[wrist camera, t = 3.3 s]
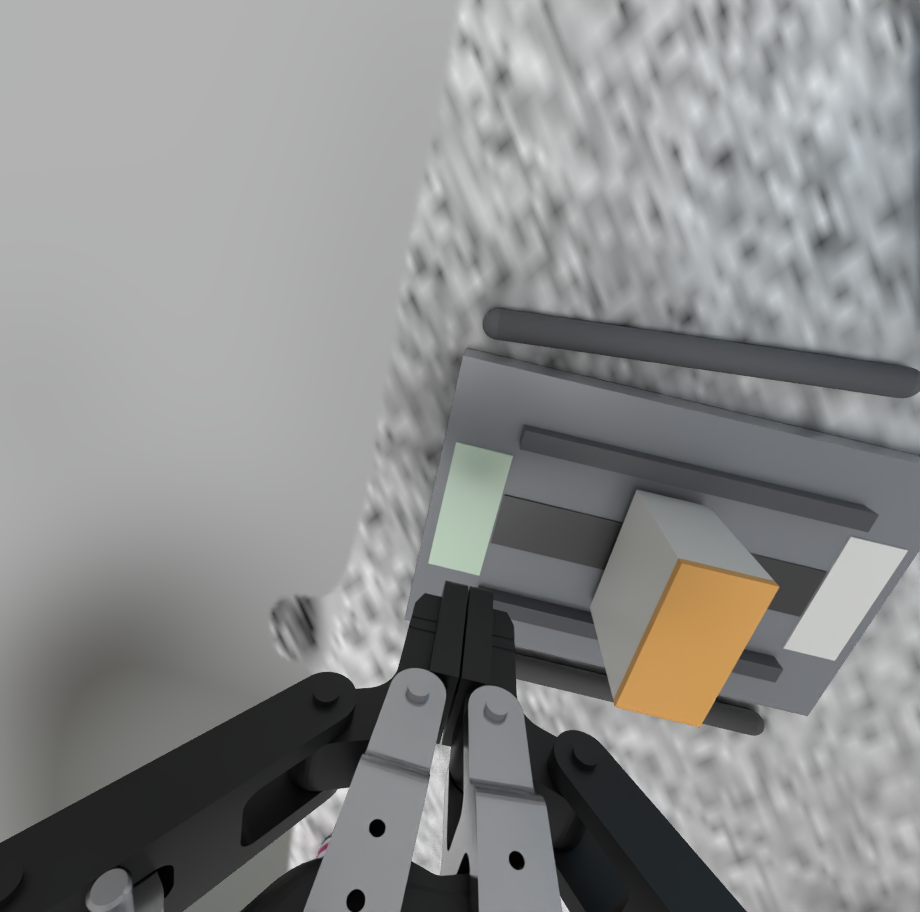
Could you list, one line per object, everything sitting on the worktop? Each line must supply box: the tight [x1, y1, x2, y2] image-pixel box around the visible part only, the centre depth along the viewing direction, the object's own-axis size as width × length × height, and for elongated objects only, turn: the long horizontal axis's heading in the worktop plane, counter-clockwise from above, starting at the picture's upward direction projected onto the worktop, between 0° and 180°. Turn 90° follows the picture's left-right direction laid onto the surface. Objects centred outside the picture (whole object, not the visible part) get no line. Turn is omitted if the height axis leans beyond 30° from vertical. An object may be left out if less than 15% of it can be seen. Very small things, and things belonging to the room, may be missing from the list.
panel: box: [405, 348, 920, 716], centre depth 21 cm, size 20×13×3 cm, turn 78°
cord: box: [483, 309, 920, 398], centre depth 19 cm, size 17×1×1 cm, turn 83°
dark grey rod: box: [515, 654, 764, 736], centre depth 25 cm, size 19×1×1 cm, turn 78°
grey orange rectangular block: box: [590, 489, 779, 727], centre depth 18 cm, size 3×6×5 cm, turn 168°
